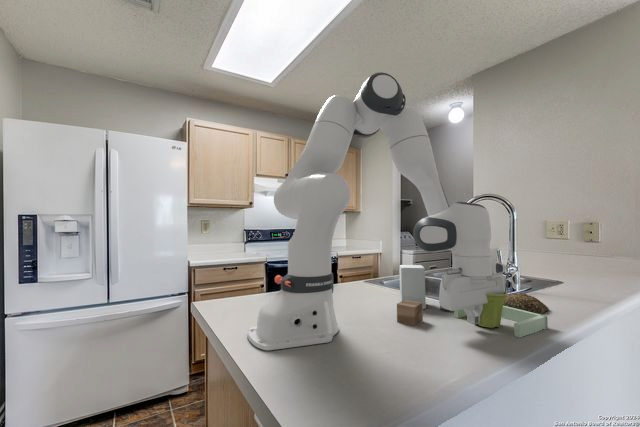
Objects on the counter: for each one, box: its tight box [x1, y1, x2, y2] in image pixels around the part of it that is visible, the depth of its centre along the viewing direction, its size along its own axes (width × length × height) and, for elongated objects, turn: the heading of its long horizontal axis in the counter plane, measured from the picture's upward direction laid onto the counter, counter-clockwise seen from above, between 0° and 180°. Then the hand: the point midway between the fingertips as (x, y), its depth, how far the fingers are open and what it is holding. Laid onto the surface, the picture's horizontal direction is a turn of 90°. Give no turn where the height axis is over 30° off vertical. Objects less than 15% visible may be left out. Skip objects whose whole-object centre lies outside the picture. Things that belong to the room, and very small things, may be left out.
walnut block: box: [396, 300, 424, 327], centre depth 80 cm, size 5×5×5 cm
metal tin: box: [439, 305, 454, 313], centre depth 90 cm, size 5×5×5 cm
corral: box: [453, 306, 549, 338], centre depth 78 cm, size 12×17×3 cm
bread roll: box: [503, 292, 550, 315], centre depth 91 cm, size 13×12×5 cm
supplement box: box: [398, 264, 427, 310], centre depth 95 cm, size 7×7×13 cm
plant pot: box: [476, 291, 508, 329], centre depth 77 cm, size 9×9×9 cm
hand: (473, 322), depth 73 cm, fingers closed
